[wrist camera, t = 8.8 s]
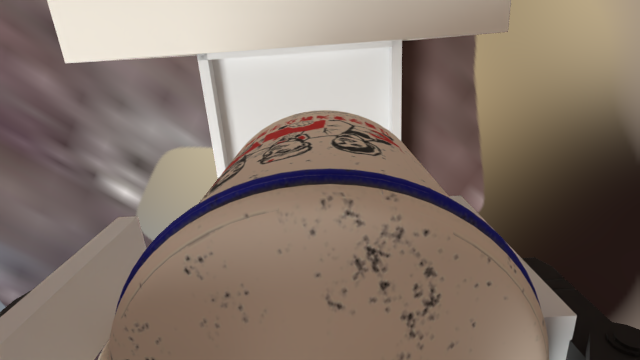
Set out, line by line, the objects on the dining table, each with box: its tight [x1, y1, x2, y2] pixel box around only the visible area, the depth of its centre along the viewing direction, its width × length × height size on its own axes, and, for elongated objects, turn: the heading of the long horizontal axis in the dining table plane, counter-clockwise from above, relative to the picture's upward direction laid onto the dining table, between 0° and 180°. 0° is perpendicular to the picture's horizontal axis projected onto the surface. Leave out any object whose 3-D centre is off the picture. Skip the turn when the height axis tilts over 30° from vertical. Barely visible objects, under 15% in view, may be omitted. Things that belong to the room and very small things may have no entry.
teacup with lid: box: [98, 110, 549, 360], centre depth 11 cm, size 12×9×12 cm
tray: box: [197, 40, 402, 178], centre depth 32 cm, size 19×24×7 cm
